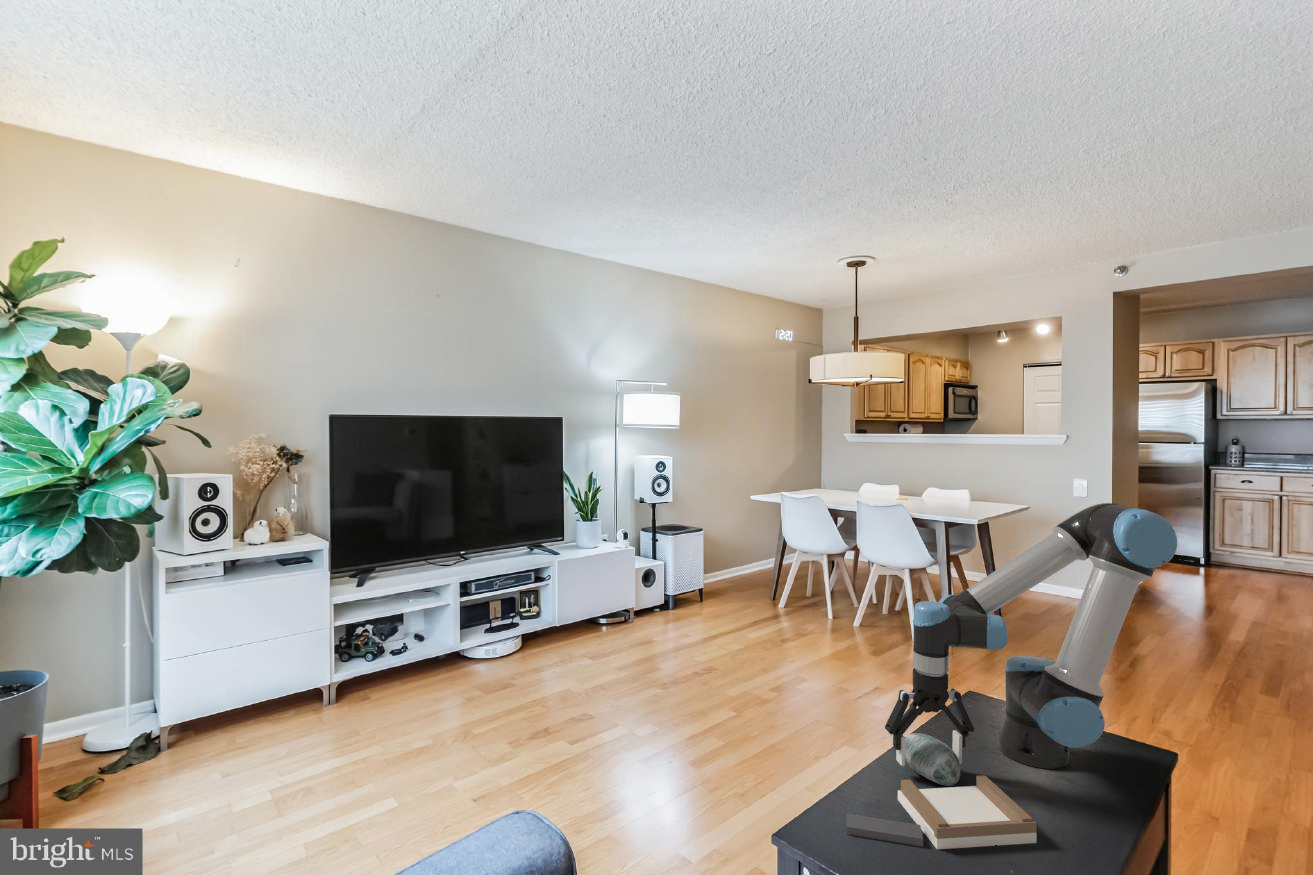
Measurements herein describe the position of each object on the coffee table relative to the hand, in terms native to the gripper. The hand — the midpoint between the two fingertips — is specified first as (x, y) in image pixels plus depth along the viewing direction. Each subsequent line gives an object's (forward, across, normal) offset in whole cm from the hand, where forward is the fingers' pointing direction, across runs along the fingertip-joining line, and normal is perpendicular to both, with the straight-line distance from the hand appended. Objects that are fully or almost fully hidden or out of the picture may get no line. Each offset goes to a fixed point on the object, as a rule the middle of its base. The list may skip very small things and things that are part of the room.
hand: (928, 761), depth 144 cm
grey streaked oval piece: (+3, 0, 0) cm, 3 cm away
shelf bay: (+3, +2, +17) cm, 17 cm away
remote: (+4, +20, +19) cm, 28 cm away
